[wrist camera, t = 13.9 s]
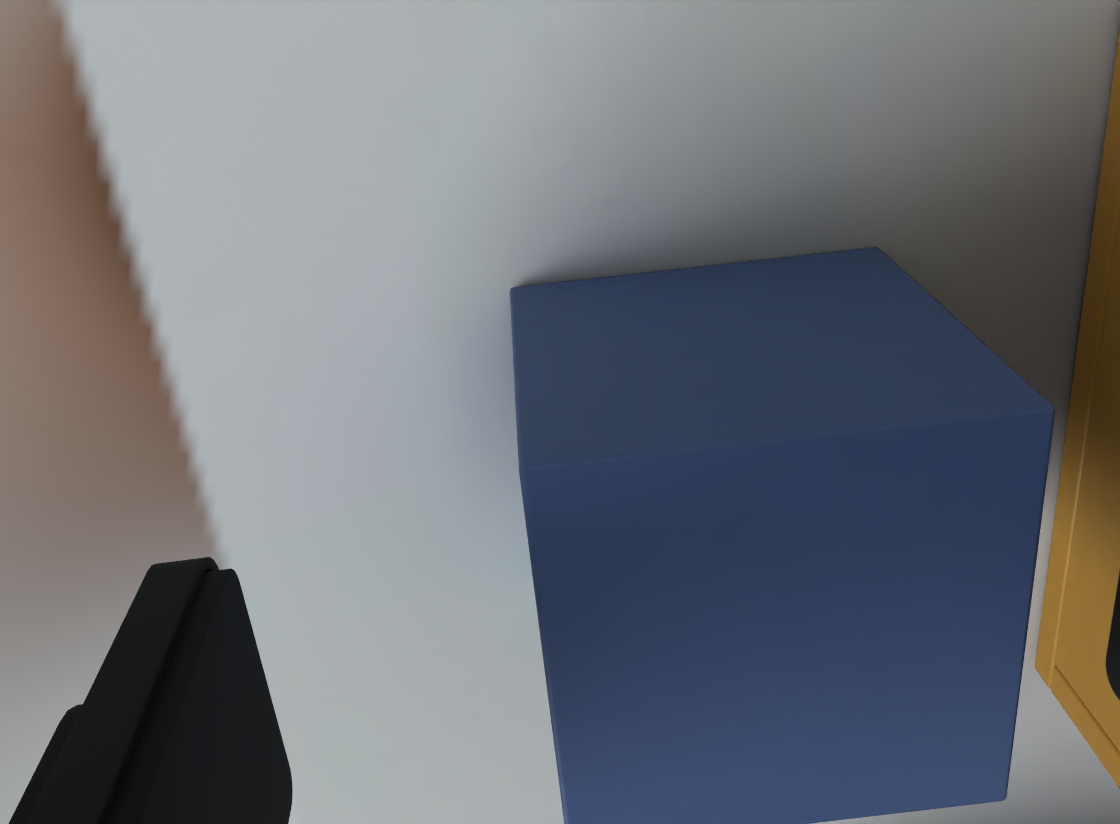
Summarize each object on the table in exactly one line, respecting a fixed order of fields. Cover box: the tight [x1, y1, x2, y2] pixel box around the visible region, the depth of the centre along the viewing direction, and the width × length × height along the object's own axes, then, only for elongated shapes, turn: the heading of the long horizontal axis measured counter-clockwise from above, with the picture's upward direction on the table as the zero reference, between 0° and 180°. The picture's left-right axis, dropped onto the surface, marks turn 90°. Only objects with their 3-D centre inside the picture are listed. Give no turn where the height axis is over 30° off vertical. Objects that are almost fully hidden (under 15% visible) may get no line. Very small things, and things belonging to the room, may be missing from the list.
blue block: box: [510, 247, 1055, 824], centre depth 12 cm, size 4×4×4 cm
